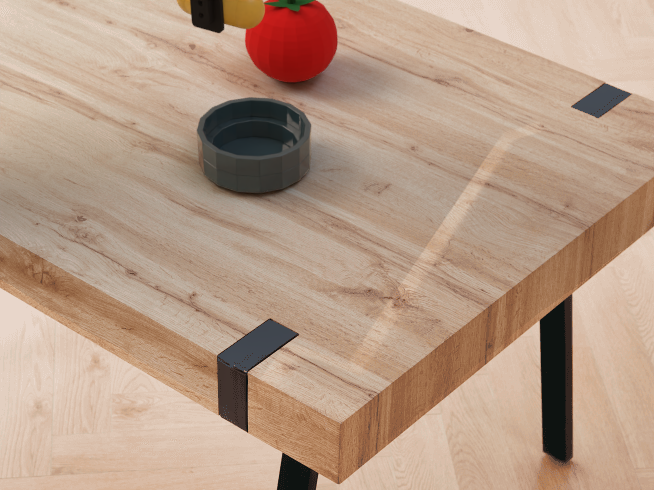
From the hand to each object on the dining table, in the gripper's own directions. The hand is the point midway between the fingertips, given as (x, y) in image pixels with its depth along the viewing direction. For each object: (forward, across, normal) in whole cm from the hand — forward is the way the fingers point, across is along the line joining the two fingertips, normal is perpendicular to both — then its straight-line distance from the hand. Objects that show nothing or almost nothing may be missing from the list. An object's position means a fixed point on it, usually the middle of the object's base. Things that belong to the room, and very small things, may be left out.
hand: (220, 17), depth 101 cm
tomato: (+16, -17, -2) cm, 24 cm away
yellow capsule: (0, 0, 0) cm, 0 cm away
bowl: (+16, 0, +3) cm, 16 cm away
